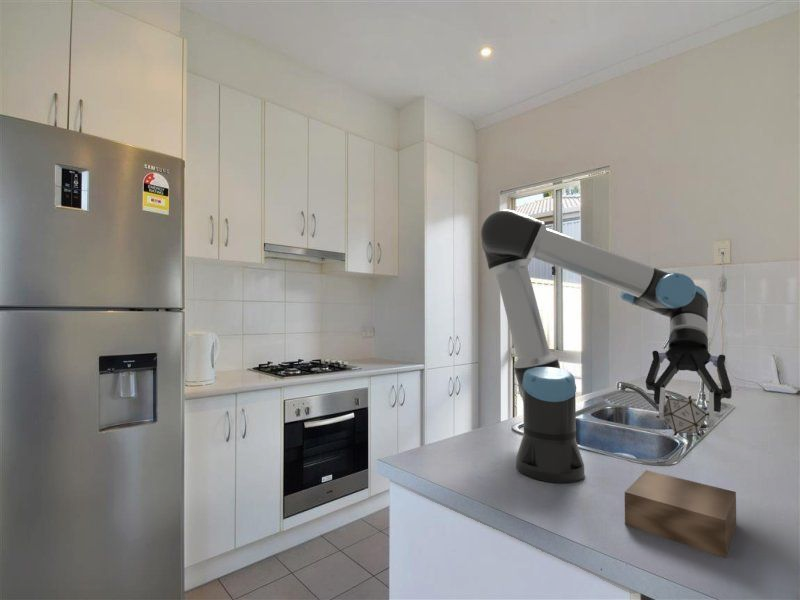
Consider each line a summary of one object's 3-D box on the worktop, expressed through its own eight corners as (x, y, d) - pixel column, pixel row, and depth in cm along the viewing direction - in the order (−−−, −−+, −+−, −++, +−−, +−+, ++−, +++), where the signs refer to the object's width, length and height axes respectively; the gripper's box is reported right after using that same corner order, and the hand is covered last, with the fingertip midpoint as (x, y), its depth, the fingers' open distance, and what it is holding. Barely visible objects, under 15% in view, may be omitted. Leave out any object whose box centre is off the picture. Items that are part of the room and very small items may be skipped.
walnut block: (624, 526, 72) (624, 491, 72) (646, 500, 82) (646, 470, 82) (726, 560, 62) (725, 520, 62) (736, 526, 72) (735, 491, 72)
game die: (693, 455, 85) (712, 424, 79) (648, 434, 89) (663, 403, 84) (700, 426, 90) (719, 395, 85) (657, 408, 95) (672, 377, 89)
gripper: (744, 350, 93) (751, 439, 80) (639, 345, 105) (630, 421, 92) (745, 327, 89) (753, 417, 76) (636, 325, 101) (626, 401, 88)
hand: (685, 419), depth 84 cm, fingers closed on game die, 8 cm apart
